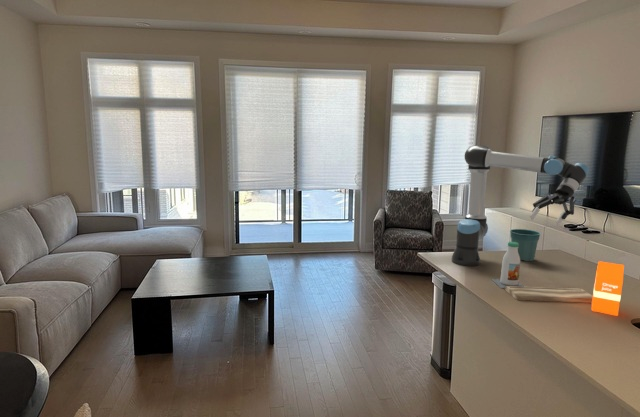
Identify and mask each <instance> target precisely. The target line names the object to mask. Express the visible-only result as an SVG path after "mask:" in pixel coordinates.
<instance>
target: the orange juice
mask: <svg viewBox="0 0 640 417" xmlns="http://www.w3.org/2000/svg"><path fill="white" fill-rule="evenodd" d="M624 271H625V264H621V263H620V264H619V263H614V262H606V261H601V260H600V261H598V263H597V268H596V272H595V279H594V285H593V293H592V295H593V298H592V303H591V311H592V312H595V313H596V312H598V313H602V314H605V315H611V316H619V310H620V309H619V308H620V302H621V297H622V292H623V291H622V290H623V289H622V288H623V283H624V273H625V272H624Z"/></svg>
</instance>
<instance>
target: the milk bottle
mask: <svg viewBox="0 0 640 417" xmlns="http://www.w3.org/2000/svg"><path fill="white" fill-rule="evenodd" d="M518 246H519V244H518V243H516V242H511V241H508V242H507V250H506V252H505V253H504V255H503V258H502V262H501V271H500V278H499V279H500V282H501V283H502V284H505V285H509V286H516V285H517V284H518V282H519V276H520V267H521V260H520V257H519V254H518Z"/></svg>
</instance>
